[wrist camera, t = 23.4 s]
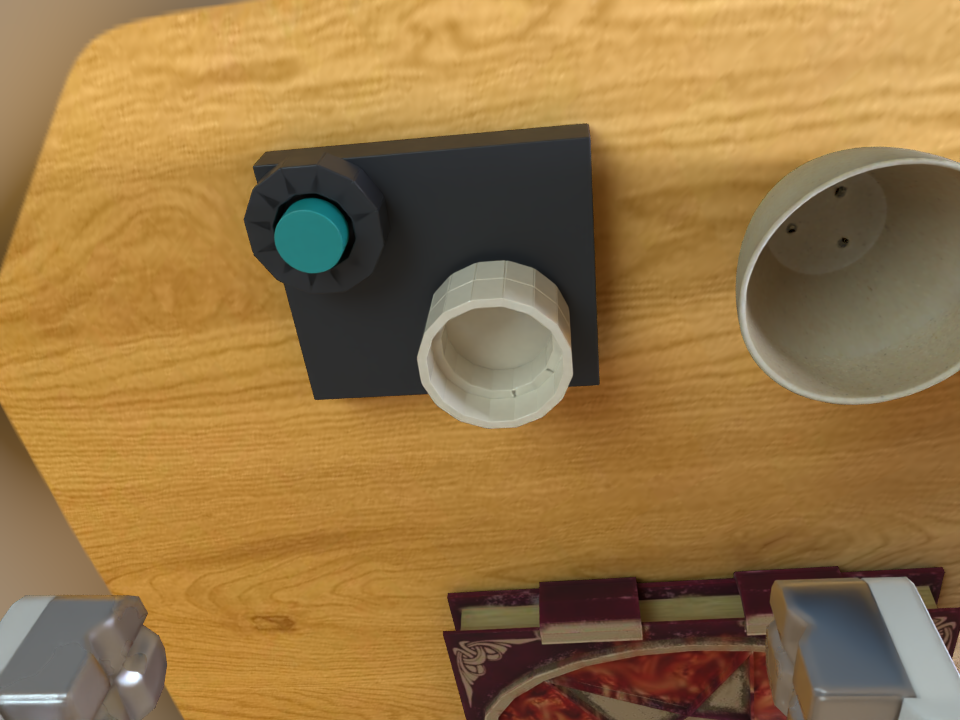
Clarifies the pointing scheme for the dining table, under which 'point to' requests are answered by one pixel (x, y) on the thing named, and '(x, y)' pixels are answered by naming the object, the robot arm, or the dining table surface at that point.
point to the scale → (427, 242)
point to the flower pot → (855, 276)
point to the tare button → (311, 235)
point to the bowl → (496, 345)
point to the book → (634, 646)
